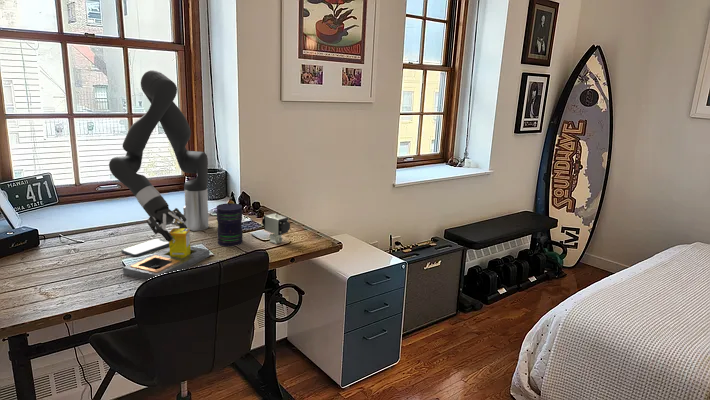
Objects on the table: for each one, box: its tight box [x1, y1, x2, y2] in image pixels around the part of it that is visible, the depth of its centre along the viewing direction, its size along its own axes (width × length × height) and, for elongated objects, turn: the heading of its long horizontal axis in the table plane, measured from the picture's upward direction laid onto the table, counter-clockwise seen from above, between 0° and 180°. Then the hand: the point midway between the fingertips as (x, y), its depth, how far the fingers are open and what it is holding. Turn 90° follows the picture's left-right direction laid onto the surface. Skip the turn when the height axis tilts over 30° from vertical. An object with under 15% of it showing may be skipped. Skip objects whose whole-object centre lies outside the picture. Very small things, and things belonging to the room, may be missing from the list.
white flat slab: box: [121, 238, 169, 258], centre depth 182 cm, size 9×2×16 cm
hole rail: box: [122, 245, 210, 281], centre depth 168 cm, size 14×26×3 cm, turn 159°
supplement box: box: [168, 227, 191, 258], centre depth 172 cm, size 6×6×11 cm
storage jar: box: [216, 202, 244, 248], centre depth 191 cm, size 10×10×15 cm
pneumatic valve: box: [261, 212, 291, 245], centre depth 194 cm, size 6×12×12 cm, turn 53°
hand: (179, 236), depth 171 cm, fingers open, 8 cm apart
